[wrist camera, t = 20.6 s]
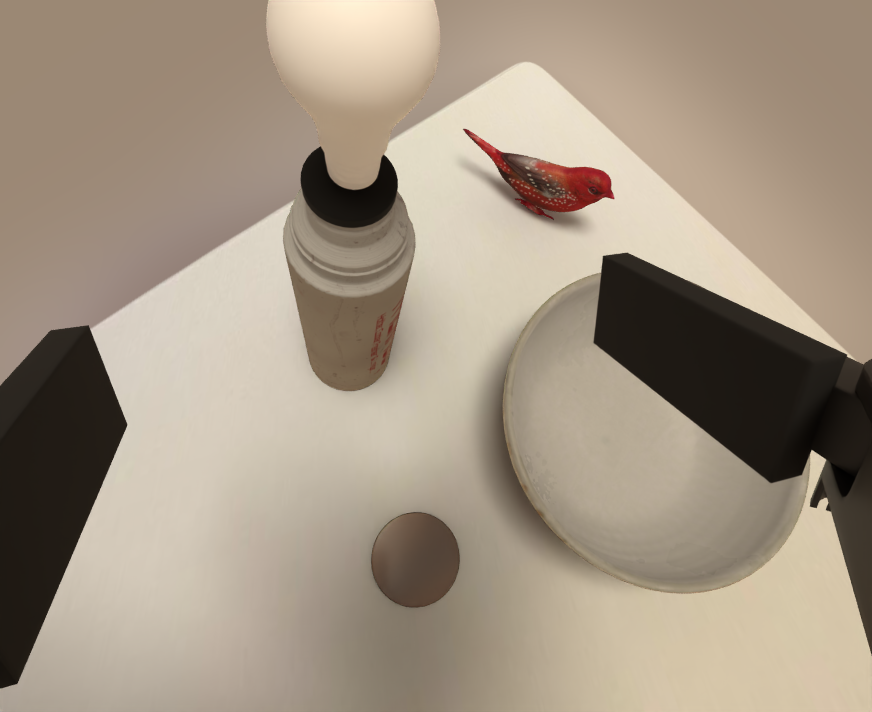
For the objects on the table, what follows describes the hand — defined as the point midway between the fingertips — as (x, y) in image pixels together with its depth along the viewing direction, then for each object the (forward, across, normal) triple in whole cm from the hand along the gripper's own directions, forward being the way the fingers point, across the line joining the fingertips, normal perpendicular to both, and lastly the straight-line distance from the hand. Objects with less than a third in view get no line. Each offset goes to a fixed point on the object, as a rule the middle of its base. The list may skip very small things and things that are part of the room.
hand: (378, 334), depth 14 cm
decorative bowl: (+25, +25, -28) cm, 45 cm away
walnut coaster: (+20, +4, -33) cm, 39 cm away
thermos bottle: (+35, +2, -18) cm, 40 cm away
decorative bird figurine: (+46, +24, -8) cm, 52 cm away
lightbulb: (+15, +2, +2) cm, 15 cm away
